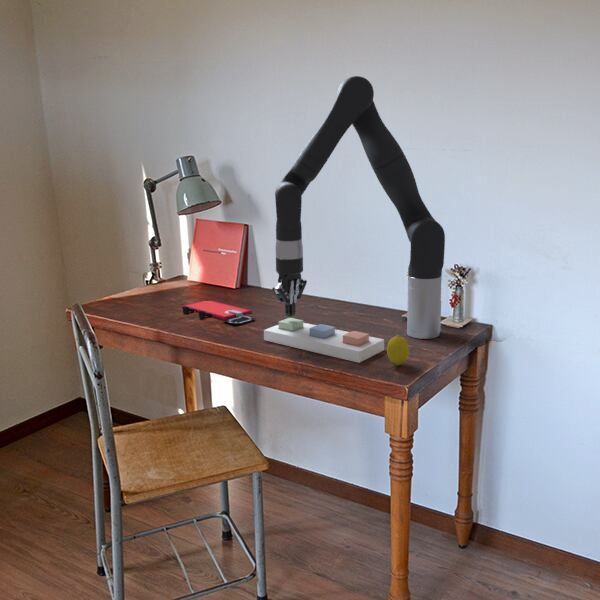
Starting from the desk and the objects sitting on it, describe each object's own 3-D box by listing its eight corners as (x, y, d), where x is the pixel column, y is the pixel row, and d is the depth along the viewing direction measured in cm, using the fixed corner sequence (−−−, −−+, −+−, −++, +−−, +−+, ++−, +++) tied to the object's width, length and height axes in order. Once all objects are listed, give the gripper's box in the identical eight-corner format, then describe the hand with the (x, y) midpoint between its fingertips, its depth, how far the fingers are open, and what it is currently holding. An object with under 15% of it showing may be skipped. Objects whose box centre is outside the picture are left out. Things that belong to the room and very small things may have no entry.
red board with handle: (230, 328, 212) (267, 318, 222) (230, 319, 211) (267, 310, 222) (172, 311, 233) (208, 303, 243) (171, 303, 232) (208, 295, 242)
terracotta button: (353, 339, 191) (353, 330, 191) (369, 342, 188) (369, 333, 188) (342, 344, 187) (342, 335, 187) (358, 347, 184) (358, 338, 184)
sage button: (289, 325, 204) (289, 317, 204) (303, 328, 201) (303, 320, 201) (278, 330, 201) (278, 321, 200) (292, 333, 198) (292, 324, 197)
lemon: (386, 368, 176) (386, 338, 174) (387, 361, 182) (387, 331, 180) (408, 369, 176) (409, 339, 173) (409, 362, 181) (409, 332, 179)
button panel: (290, 329, 209) (290, 319, 208) (383, 350, 190) (384, 339, 189) (264, 340, 200) (263, 330, 199) (359, 362, 181) (359, 351, 180)
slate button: (320, 332, 198) (320, 323, 197) (335, 335, 195) (335, 326, 194) (309, 337, 194) (309, 328, 193) (324, 340, 191) (324, 331, 190)
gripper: (293, 250, 203) (294, 308, 207) (263, 257, 193) (265, 319, 197) (314, 252, 198) (315, 312, 203) (284, 261, 188) (285, 323, 193)
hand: (290, 315), depth 200 cm, fingers closed
